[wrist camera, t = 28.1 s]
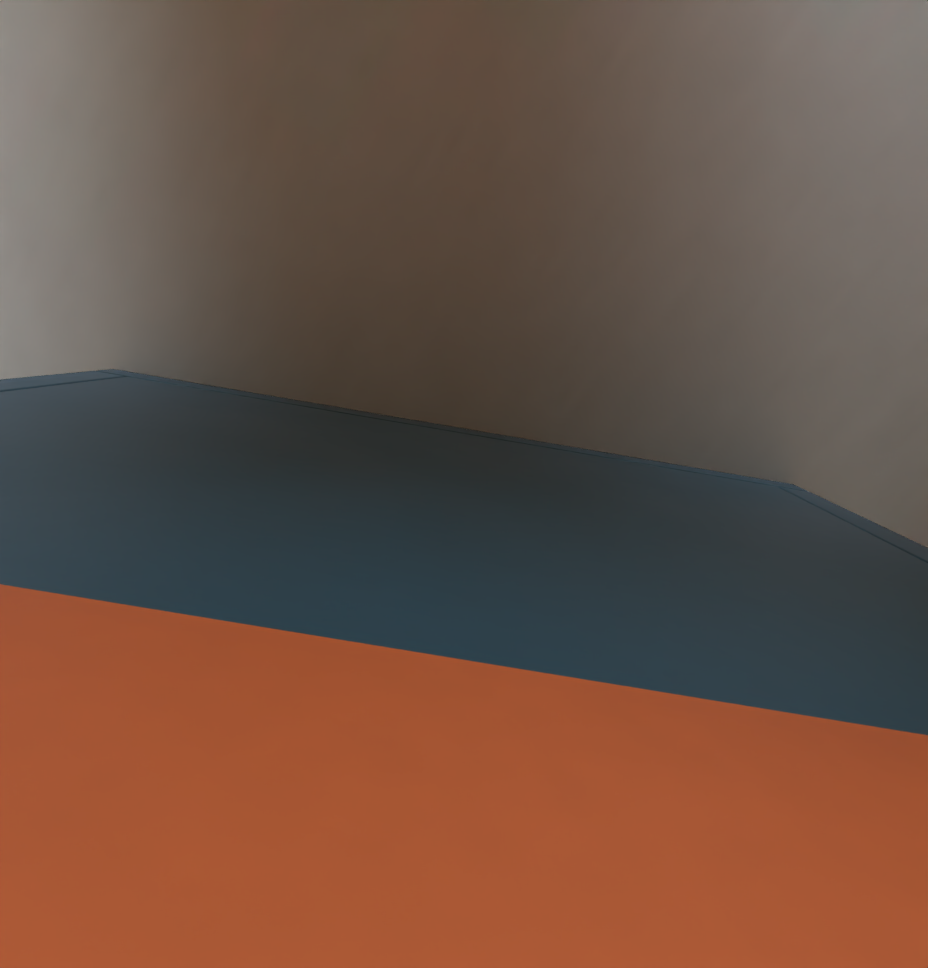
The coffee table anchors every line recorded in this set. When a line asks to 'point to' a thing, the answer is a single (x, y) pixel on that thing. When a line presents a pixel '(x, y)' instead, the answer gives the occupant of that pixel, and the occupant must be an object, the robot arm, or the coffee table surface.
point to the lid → (426, 810)
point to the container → (459, 545)
